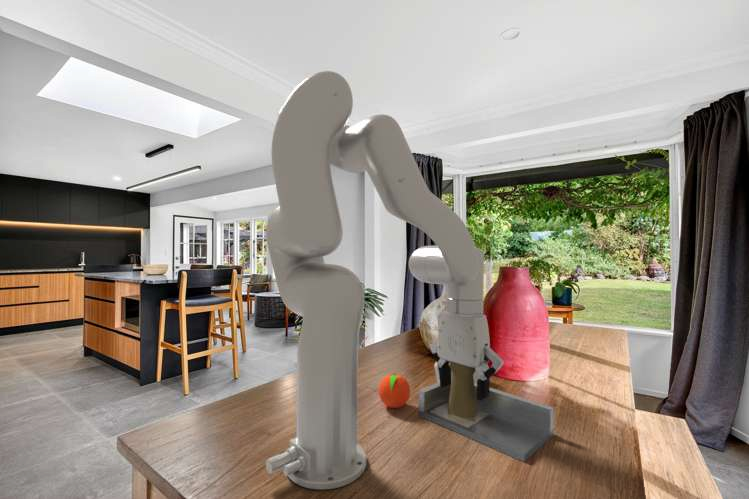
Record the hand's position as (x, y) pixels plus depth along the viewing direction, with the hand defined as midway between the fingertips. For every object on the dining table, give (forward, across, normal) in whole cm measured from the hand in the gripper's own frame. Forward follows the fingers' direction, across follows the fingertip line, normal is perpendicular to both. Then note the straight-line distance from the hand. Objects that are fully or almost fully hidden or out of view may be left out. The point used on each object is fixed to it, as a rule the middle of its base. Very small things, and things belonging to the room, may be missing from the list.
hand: (463, 391), depth 73 cm
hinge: (+6, -10, +14) cm, 18 cm away
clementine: (+5, -12, -8) cm, 16 cm away
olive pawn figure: (+4, 0, 0) cm, 4 cm away
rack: (+5, +4, 0) cm, 7 cm away
